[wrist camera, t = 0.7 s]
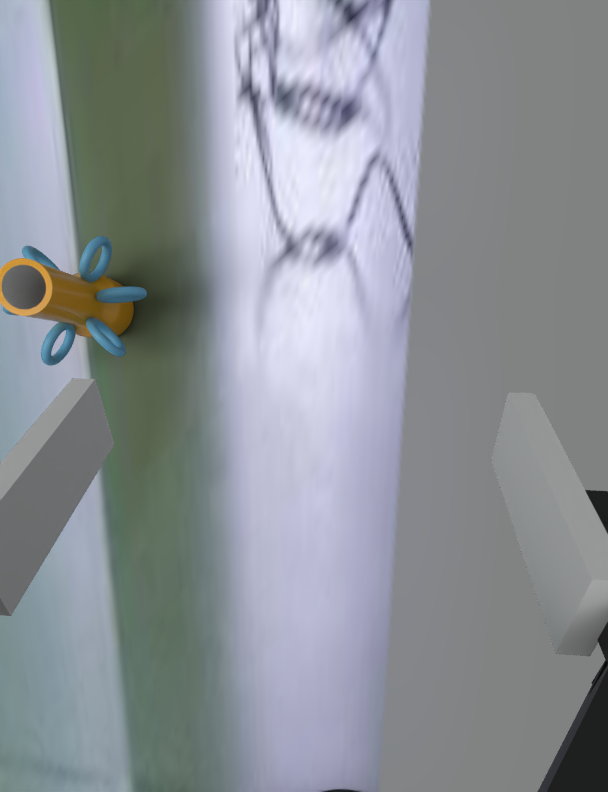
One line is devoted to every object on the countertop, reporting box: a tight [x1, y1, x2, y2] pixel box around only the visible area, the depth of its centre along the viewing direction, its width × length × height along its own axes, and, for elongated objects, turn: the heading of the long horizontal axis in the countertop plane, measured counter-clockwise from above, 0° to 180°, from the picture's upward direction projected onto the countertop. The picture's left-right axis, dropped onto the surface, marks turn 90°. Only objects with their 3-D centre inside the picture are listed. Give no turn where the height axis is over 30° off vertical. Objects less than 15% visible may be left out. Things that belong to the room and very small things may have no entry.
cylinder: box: [0, 236, 147, 365], centre depth 43 cm, size 12×10×15 cm
